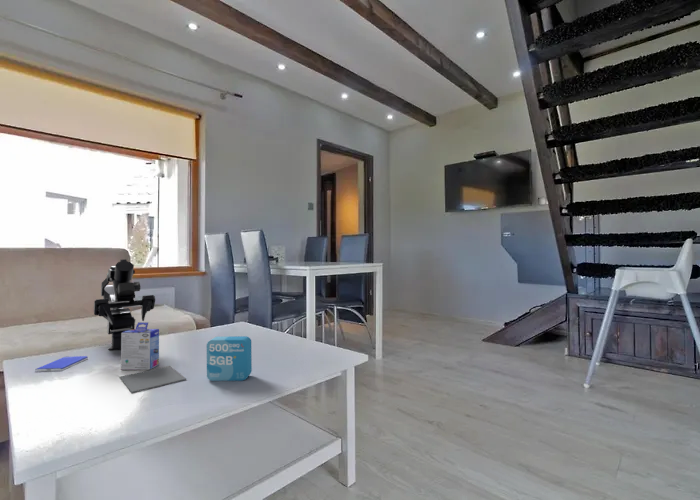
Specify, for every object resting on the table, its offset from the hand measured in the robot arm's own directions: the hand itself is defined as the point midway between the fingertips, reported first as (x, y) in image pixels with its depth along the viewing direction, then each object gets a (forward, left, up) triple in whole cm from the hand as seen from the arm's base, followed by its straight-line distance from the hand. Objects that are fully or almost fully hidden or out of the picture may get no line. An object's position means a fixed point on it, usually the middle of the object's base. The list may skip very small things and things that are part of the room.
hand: (128, 322), depth 124 cm
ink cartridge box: (+11, +6, -13) cm, 19 cm away
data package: (+31, +34, -13) cm, 48 cm away
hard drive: (-1, -20, -14) cm, 24 cm away
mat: (+24, +12, -13) cm, 30 cm away
